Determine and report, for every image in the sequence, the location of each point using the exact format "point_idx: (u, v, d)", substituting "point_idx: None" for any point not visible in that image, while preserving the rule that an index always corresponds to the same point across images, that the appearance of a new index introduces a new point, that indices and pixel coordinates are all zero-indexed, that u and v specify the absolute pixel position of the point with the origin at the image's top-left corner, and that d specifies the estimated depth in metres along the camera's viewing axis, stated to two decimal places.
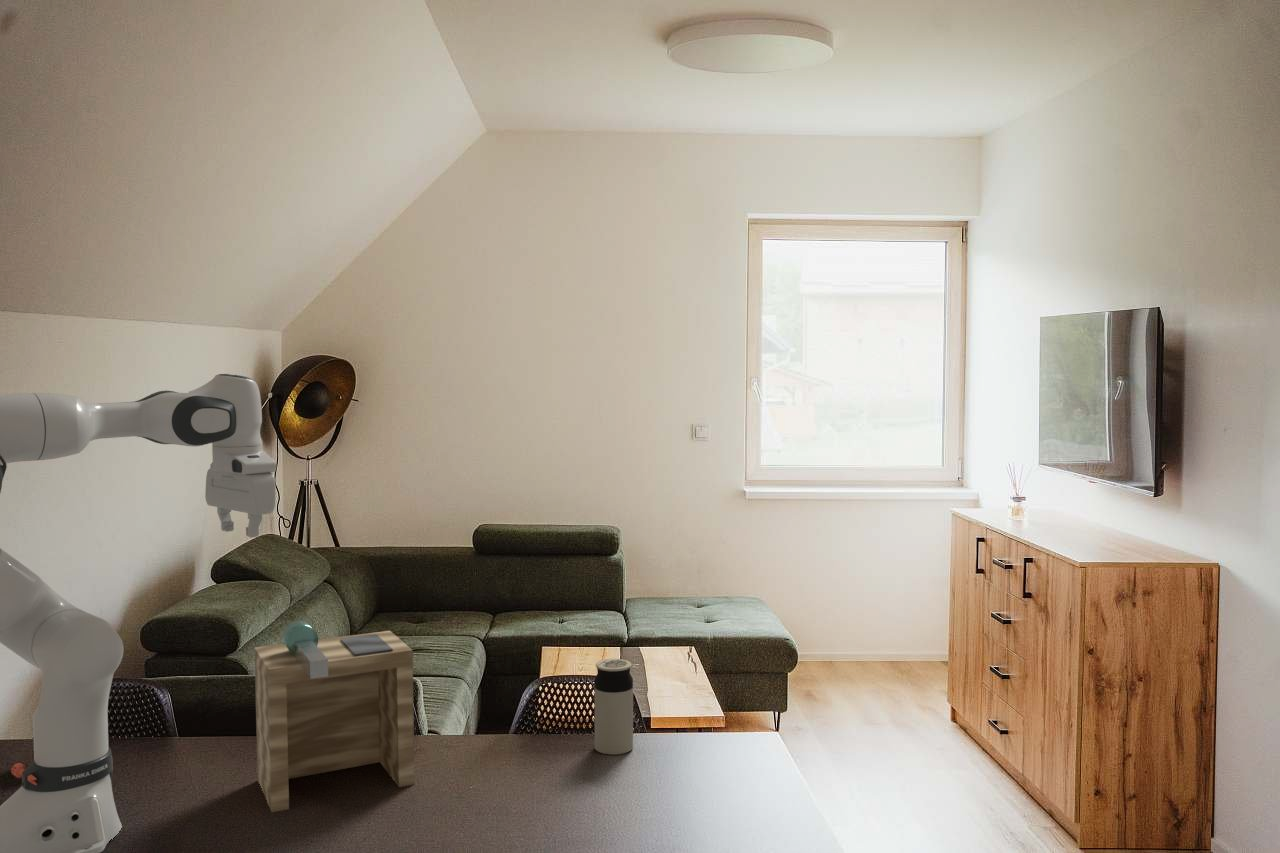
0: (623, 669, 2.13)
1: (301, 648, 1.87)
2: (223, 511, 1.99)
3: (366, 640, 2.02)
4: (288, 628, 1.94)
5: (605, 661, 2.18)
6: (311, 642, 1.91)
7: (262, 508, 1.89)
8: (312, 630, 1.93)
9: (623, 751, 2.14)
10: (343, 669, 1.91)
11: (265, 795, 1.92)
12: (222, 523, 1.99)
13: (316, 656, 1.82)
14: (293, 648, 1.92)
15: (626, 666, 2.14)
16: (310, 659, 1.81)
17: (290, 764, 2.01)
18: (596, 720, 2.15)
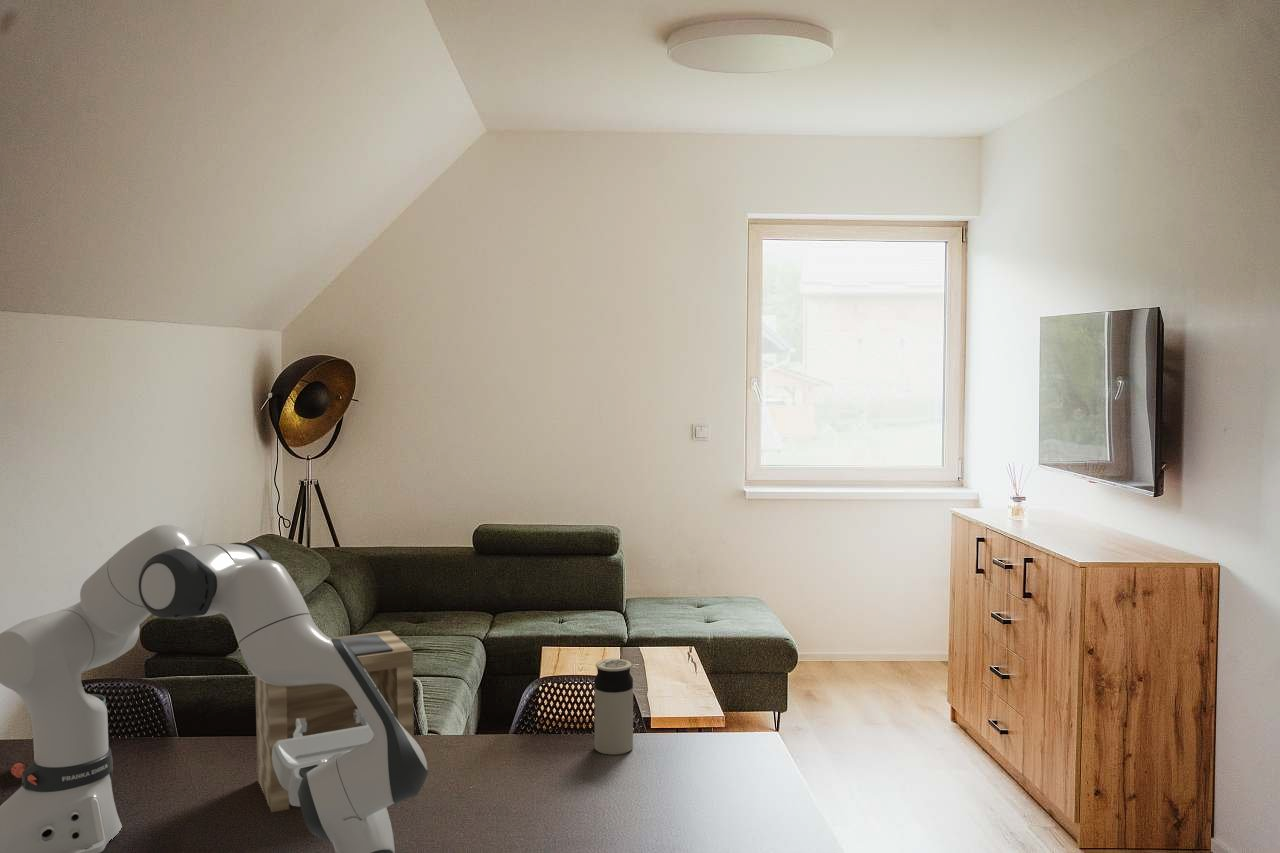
0: (623, 669, 2.13)
1: None
2: (366, 725, 1.74)
3: (366, 640, 2.02)
4: None
5: (605, 661, 2.18)
6: None
7: (272, 750, 1.65)
8: None
9: (623, 751, 2.14)
10: None
11: (265, 795, 1.92)
12: (361, 714, 1.75)
13: None
14: None
15: (626, 666, 2.14)
16: None
17: None
18: (596, 720, 2.15)
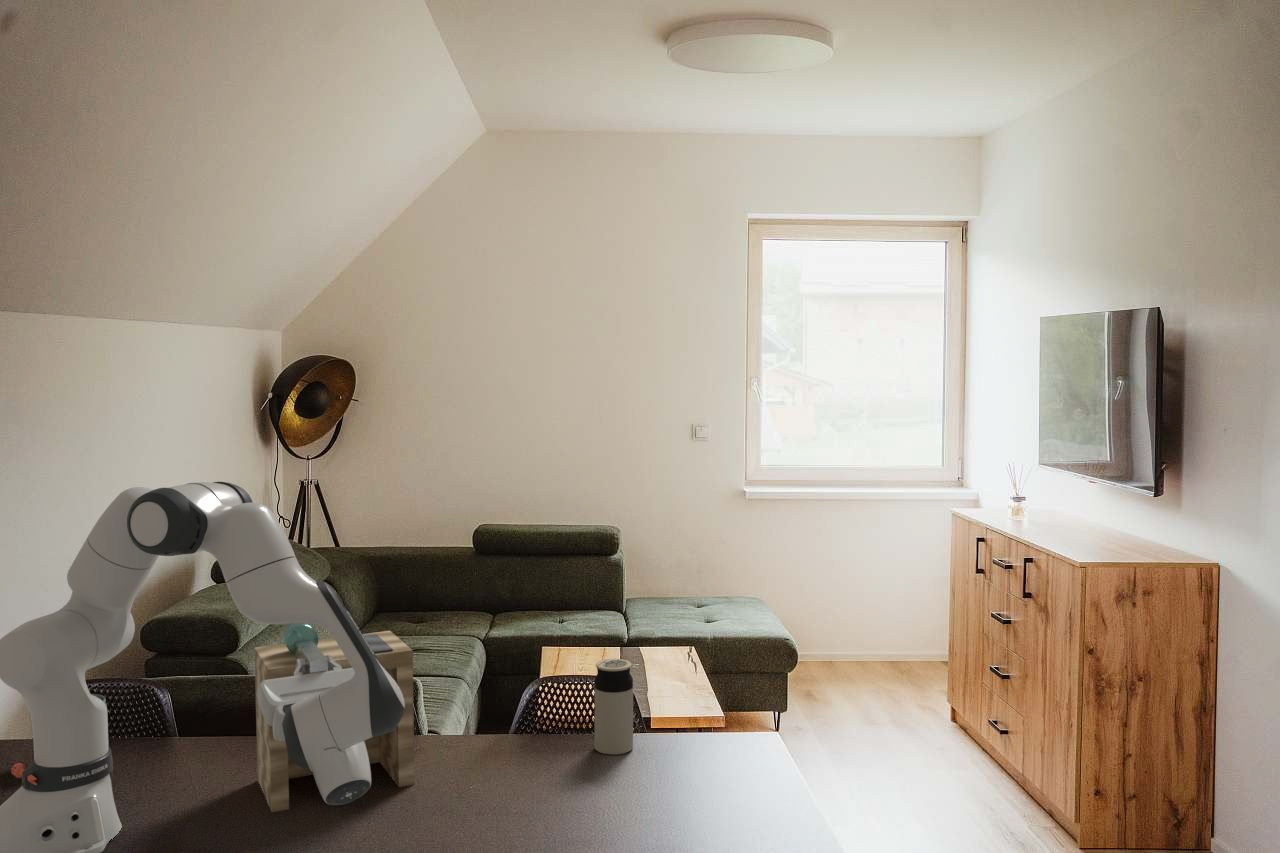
0: (623, 669, 2.13)
1: (301, 648, 1.87)
2: (333, 670, 1.82)
3: (366, 640, 2.02)
4: (288, 628, 1.94)
5: (605, 661, 2.18)
6: (311, 642, 1.91)
7: (258, 689, 1.75)
8: (312, 630, 1.93)
9: (623, 751, 2.14)
10: None
11: (265, 795, 1.92)
12: (329, 660, 1.84)
13: (316, 656, 1.82)
14: (293, 648, 1.92)
15: (626, 666, 2.14)
16: (310, 659, 1.81)
17: (290, 764, 2.01)
18: (596, 720, 2.15)
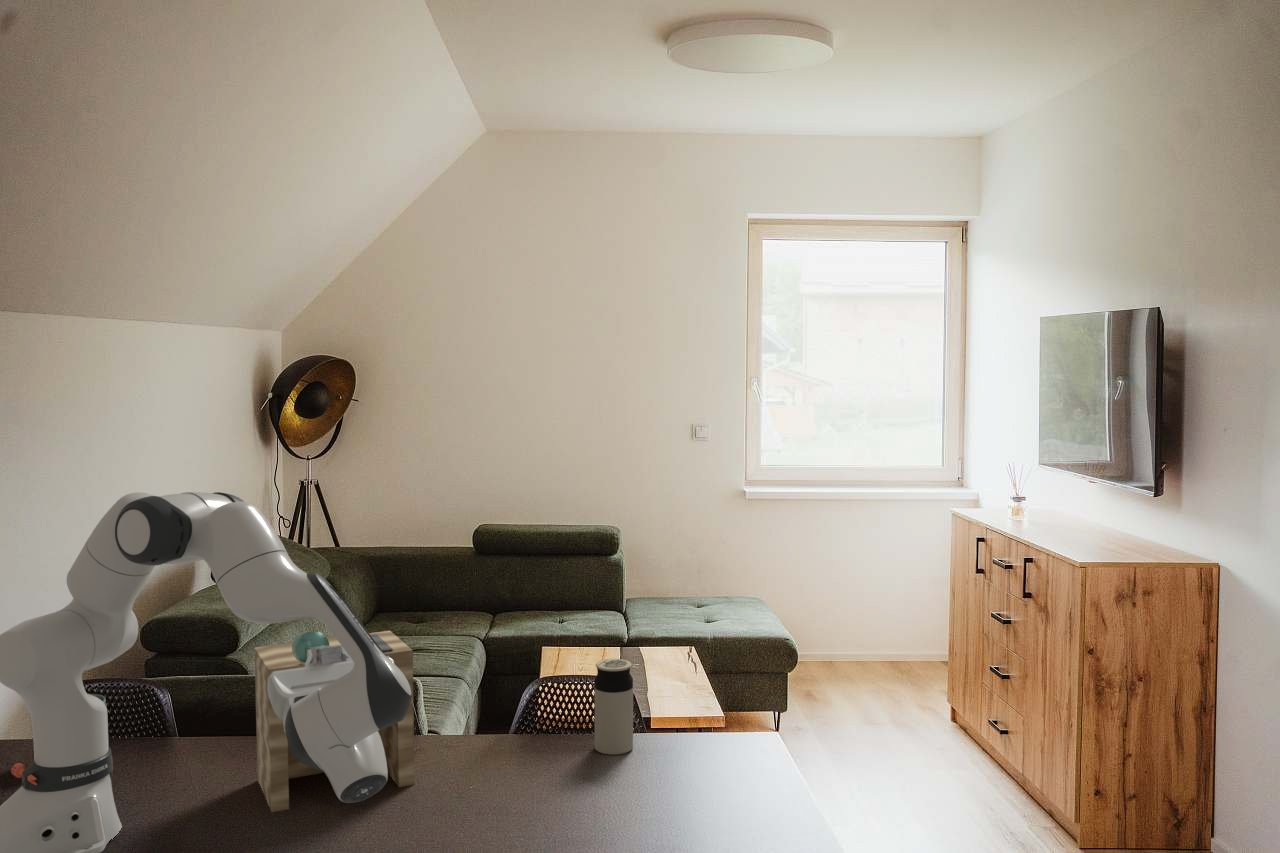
0: (623, 669, 2.13)
1: (311, 647, 1.79)
2: (346, 661, 1.74)
3: None
4: (297, 637, 1.86)
5: (605, 661, 2.18)
6: (322, 645, 1.83)
7: (268, 680, 1.66)
8: (322, 635, 1.86)
9: (623, 751, 2.14)
10: None
11: (265, 795, 1.92)
12: (341, 650, 1.75)
13: None
14: (303, 655, 1.83)
15: (626, 666, 2.14)
16: (321, 648, 1.72)
17: (290, 764, 2.01)
18: (596, 720, 2.15)
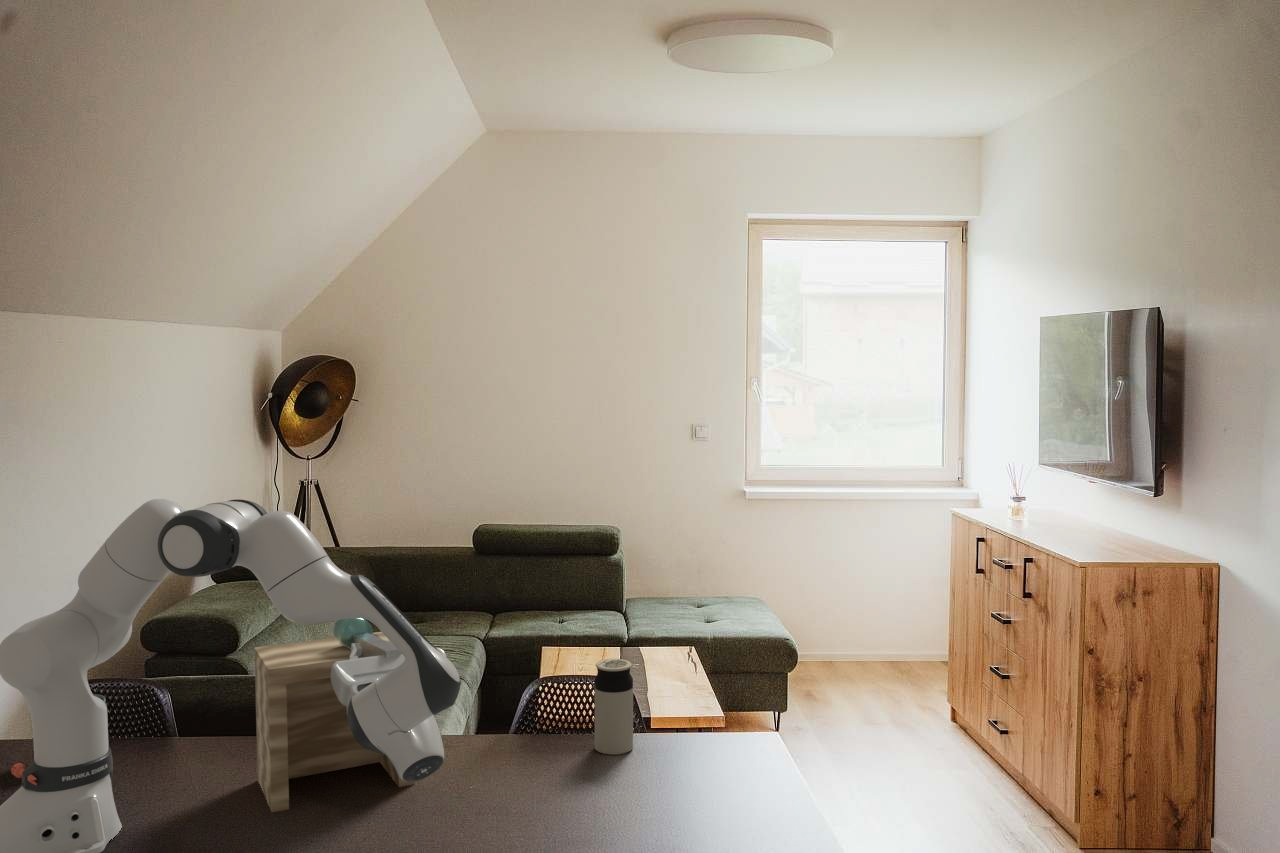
0: (623, 669, 2.13)
1: (365, 640, 1.91)
2: None
3: None
4: (342, 622, 1.97)
5: (605, 661, 2.18)
6: (369, 634, 1.95)
7: (331, 670, 1.80)
8: (367, 623, 1.97)
9: (623, 751, 2.14)
10: None
11: (265, 795, 1.92)
12: None
13: (387, 646, 1.87)
14: (350, 641, 1.95)
15: (626, 666, 2.14)
16: (384, 649, 1.85)
17: (290, 764, 2.01)
18: (596, 720, 2.15)
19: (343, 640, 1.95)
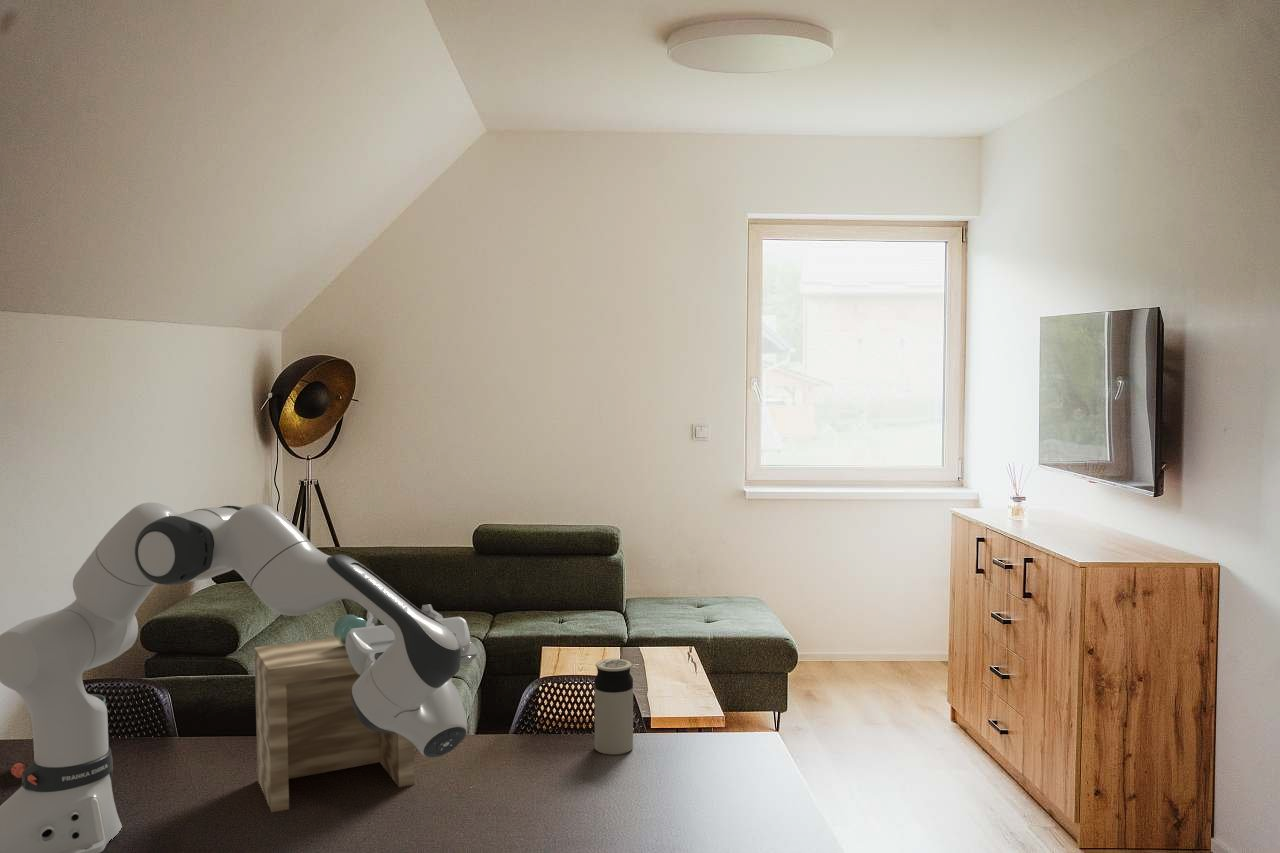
0: (623, 669, 2.13)
1: None
2: (434, 619, 1.78)
3: None
4: (342, 622, 1.97)
5: (605, 661, 2.18)
6: None
7: (347, 637, 1.69)
8: None
9: (623, 751, 2.14)
10: (343, 669, 1.91)
11: (265, 795, 1.92)
12: (429, 609, 1.80)
13: None
14: None
15: (626, 666, 2.14)
16: None
17: (290, 764, 2.01)
18: (596, 720, 2.15)
19: (343, 640, 1.95)
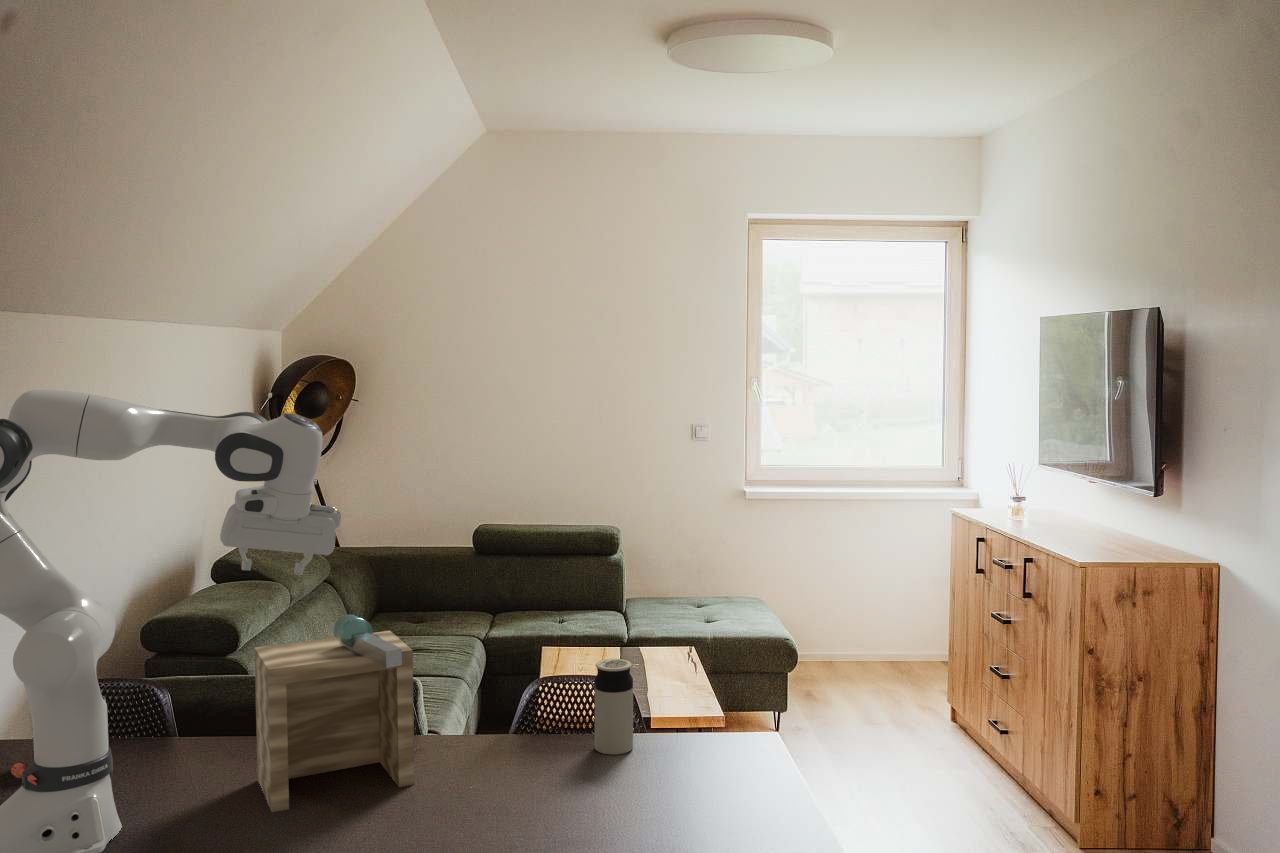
0: (623, 669, 2.13)
1: (365, 640, 1.91)
2: (304, 554, 1.97)
3: None
4: (342, 622, 1.97)
5: (605, 661, 2.18)
6: (369, 634, 1.95)
7: (220, 535, 1.90)
8: (367, 623, 1.97)
9: (623, 751, 2.14)
10: (343, 669, 1.91)
11: (265, 795, 1.92)
12: None
13: (387, 646, 1.87)
14: (350, 641, 1.95)
15: (626, 666, 2.14)
16: (384, 649, 1.85)
17: (290, 764, 2.01)
18: (596, 720, 2.15)
19: (343, 640, 1.95)
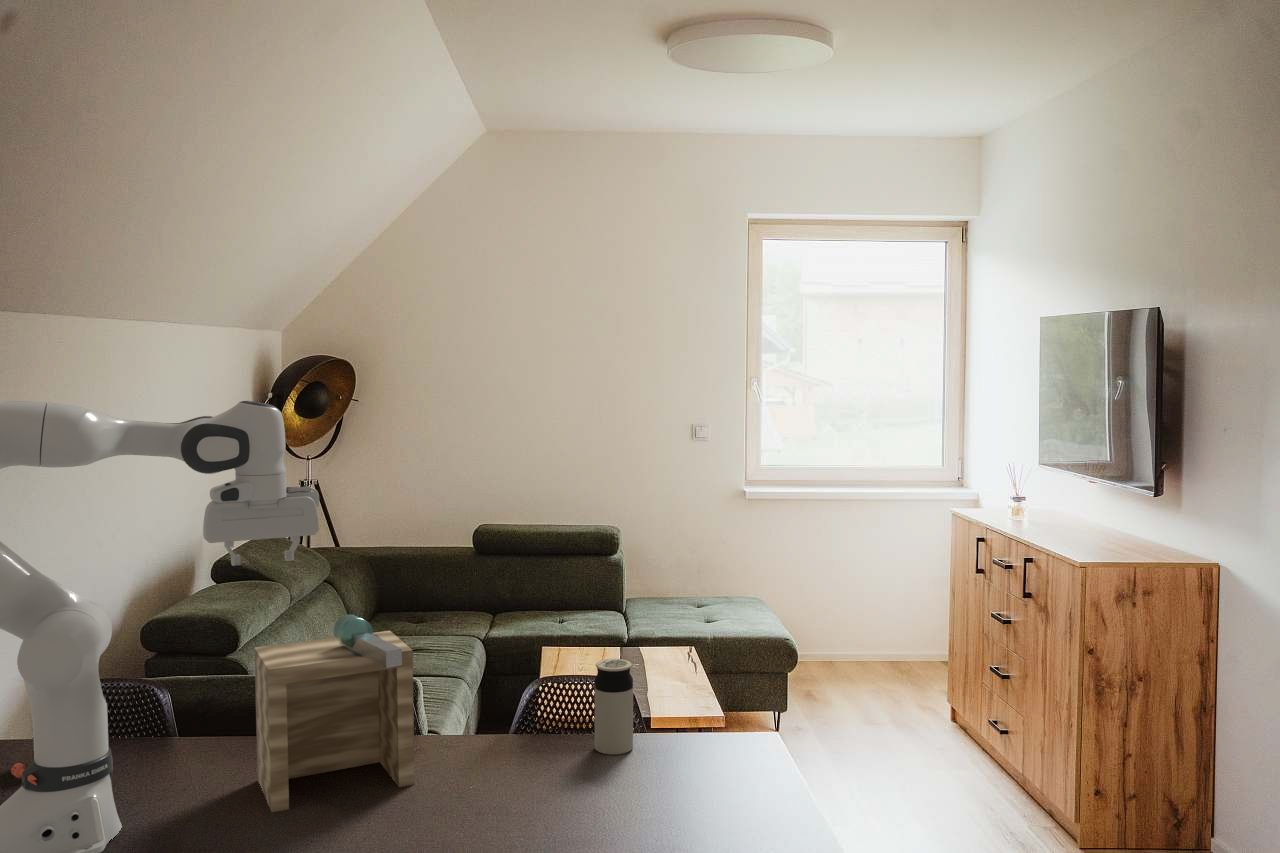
0: (623, 669, 2.13)
1: (365, 640, 1.91)
2: (291, 539, 1.97)
3: None
4: (342, 622, 1.97)
5: (605, 661, 2.18)
6: (369, 634, 1.95)
7: (203, 535, 1.89)
8: (367, 623, 1.97)
9: (623, 751, 2.14)
10: (343, 669, 1.91)
11: (265, 795, 1.92)
12: None
13: (387, 646, 1.87)
14: (350, 641, 1.95)
15: (626, 666, 2.14)
16: (384, 649, 1.85)
17: (290, 764, 2.01)
18: (596, 720, 2.15)
19: (343, 640, 1.95)
